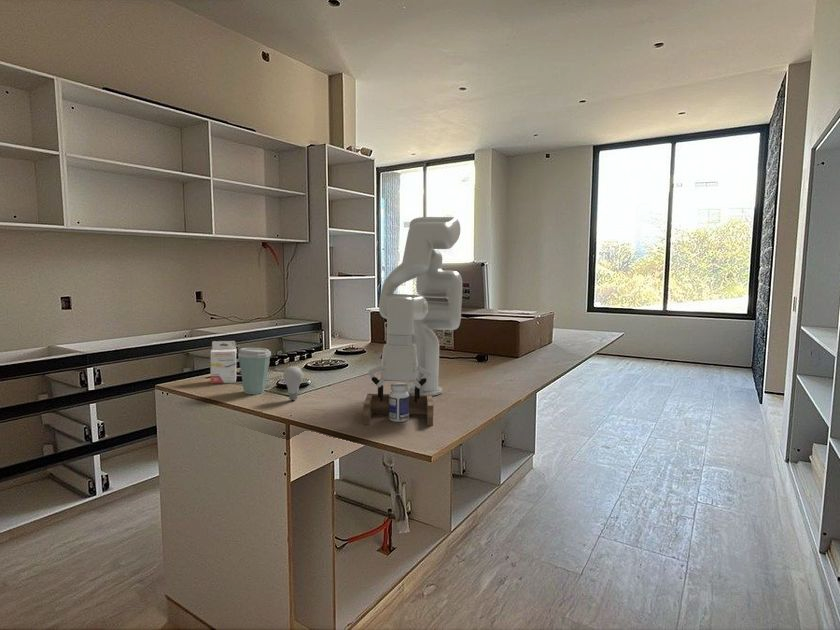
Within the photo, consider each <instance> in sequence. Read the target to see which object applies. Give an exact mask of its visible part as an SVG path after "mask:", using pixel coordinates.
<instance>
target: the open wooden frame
mask: <svg viewBox="0 0 840 630" xmlns="http://www.w3.org/2000/svg"><path fill="white" fill-rule="evenodd" d="M389 394H390V393H383V401H382V402H380V398H378V393H367V394H366V397H365V400H364V402H363V408H362V409H363V412H362V413H363V420H362V422H363V423H362V424H363V425H370V422H371V418H372V415H373V414H384V415H386V414H387V415H389ZM414 397H415V395H414V394H410V393H409V415H426V424H427V426H434V400H433V396H432V395H420V399H417V402H414Z"/></svg>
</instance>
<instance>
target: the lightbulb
mask: <svg viewBox="0 0 840 630" xmlns="http://www.w3.org/2000/svg"><path fill="white" fill-rule="evenodd" d="M282 378H283V381H284V382H285V385H286V388H287V392H288V399H289V400H291V401H292V400H294V401H296V400H297V399H298V395H299V394H298V393H299V390H300V389H299V388H300V386H301V383H302V381H303V379H304V372H303V371H302V369H301V368H300V367H298V366H295V365H294V366H289V367H287V368H286V369H285V370H284V372H283V375H282Z"/></svg>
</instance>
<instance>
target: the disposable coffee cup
mask: <svg viewBox="0 0 840 630" xmlns="http://www.w3.org/2000/svg"><path fill="white" fill-rule="evenodd" d="M271 356H272V351H270V349H268V348H262V347H243V348H240V349H239V351H238V353H237V357H238V360H239V362H238V363H239V367H240V375H241V380H242V381H241V382H242V387H243V391H244V394H247V395H251V394H253V395H260V394H259V393H261V394H263V392H264V391H265V389H266V385H267V379H268V372H269V365H270V359H271Z"/></svg>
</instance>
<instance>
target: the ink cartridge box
mask: <svg viewBox="0 0 840 630" xmlns="http://www.w3.org/2000/svg"><path fill="white" fill-rule="evenodd" d="M223 344H224V345H223ZM236 347H237V346H236V341H235V340H218V341H215V340H213V341H212V342H211V350H210V384H211V385H212V384H234V383H236V382H237V349H236Z"/></svg>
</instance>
